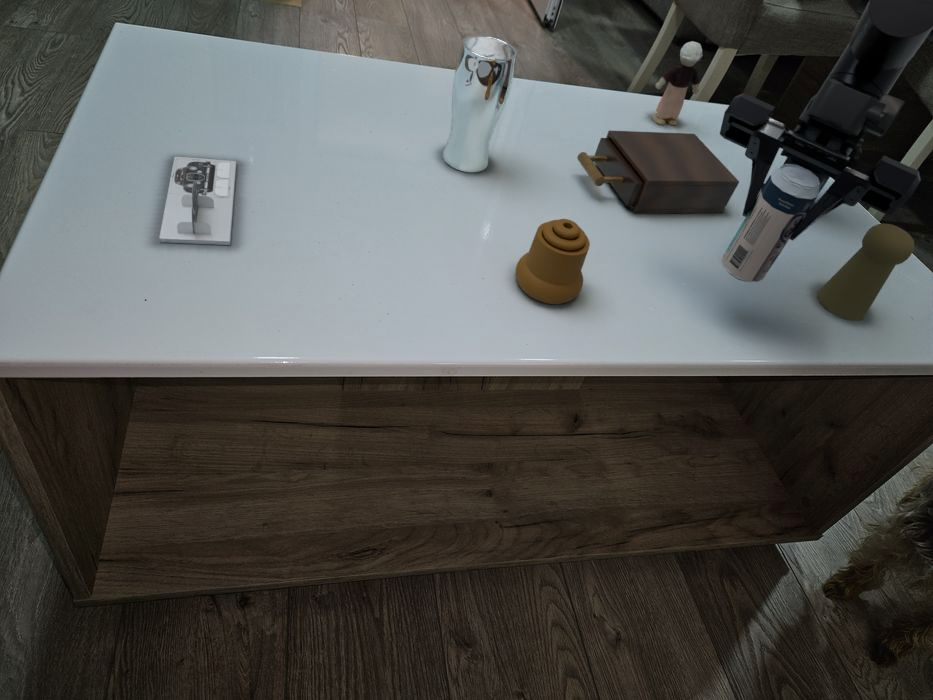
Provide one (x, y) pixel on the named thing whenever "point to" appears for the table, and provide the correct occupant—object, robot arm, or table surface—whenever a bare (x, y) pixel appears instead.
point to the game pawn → (866, 272)
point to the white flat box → (199, 202)
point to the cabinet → (675, 172)
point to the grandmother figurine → (678, 84)
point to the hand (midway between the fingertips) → (767, 226)
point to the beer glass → (478, 100)
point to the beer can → (771, 222)
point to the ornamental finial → (554, 262)
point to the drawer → (613, 171)
